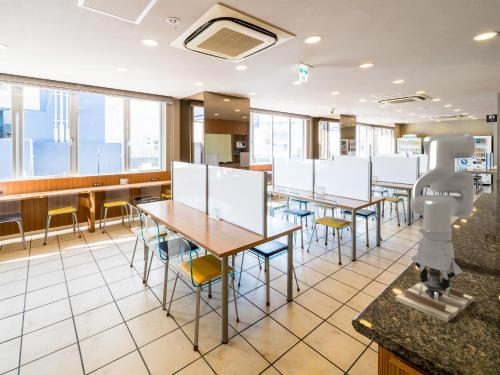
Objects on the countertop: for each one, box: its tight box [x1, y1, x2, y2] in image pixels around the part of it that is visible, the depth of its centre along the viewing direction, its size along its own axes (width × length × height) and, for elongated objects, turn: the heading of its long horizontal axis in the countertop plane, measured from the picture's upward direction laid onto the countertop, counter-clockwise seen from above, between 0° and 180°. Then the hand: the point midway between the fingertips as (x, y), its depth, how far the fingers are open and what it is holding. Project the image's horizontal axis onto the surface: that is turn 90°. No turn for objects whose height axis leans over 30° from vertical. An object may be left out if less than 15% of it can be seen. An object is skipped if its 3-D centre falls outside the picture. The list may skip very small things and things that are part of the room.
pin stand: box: [395, 278, 474, 323], centre depth 95 cm, size 20×16×6 cm
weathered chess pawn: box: [424, 268, 443, 297], centre depth 94 cm, size 6×6×12 cm
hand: (434, 284), depth 95 cm, fingers closed on weathered chess pawn, 5 cm apart
